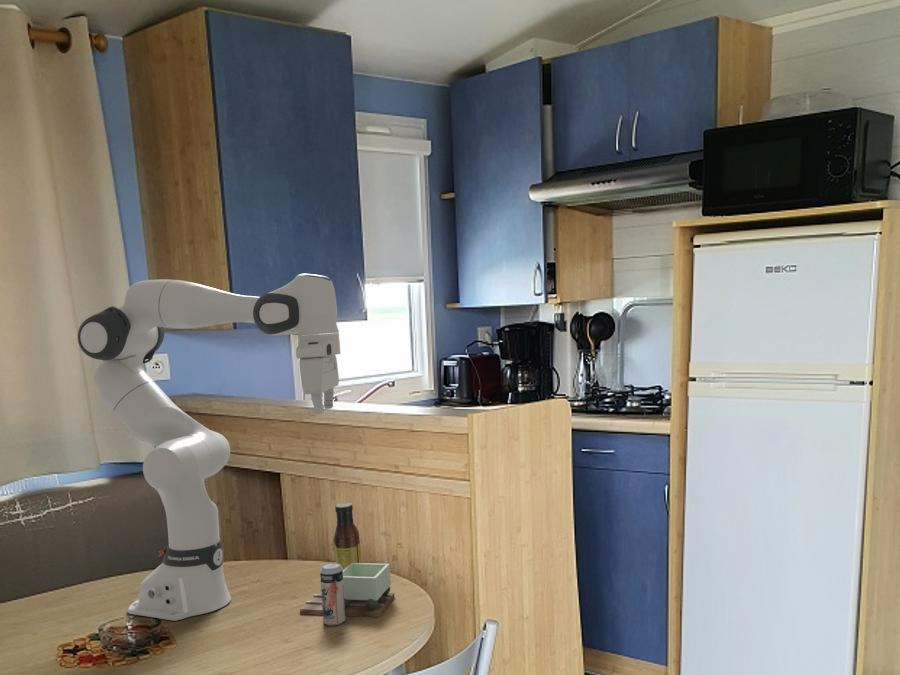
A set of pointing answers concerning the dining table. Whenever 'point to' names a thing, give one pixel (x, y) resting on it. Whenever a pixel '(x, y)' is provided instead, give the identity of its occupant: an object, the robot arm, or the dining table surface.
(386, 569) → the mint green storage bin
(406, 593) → the dining table surface
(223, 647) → the dining table surface
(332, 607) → the beer can
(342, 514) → the sauce bottle
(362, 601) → the walnut track
